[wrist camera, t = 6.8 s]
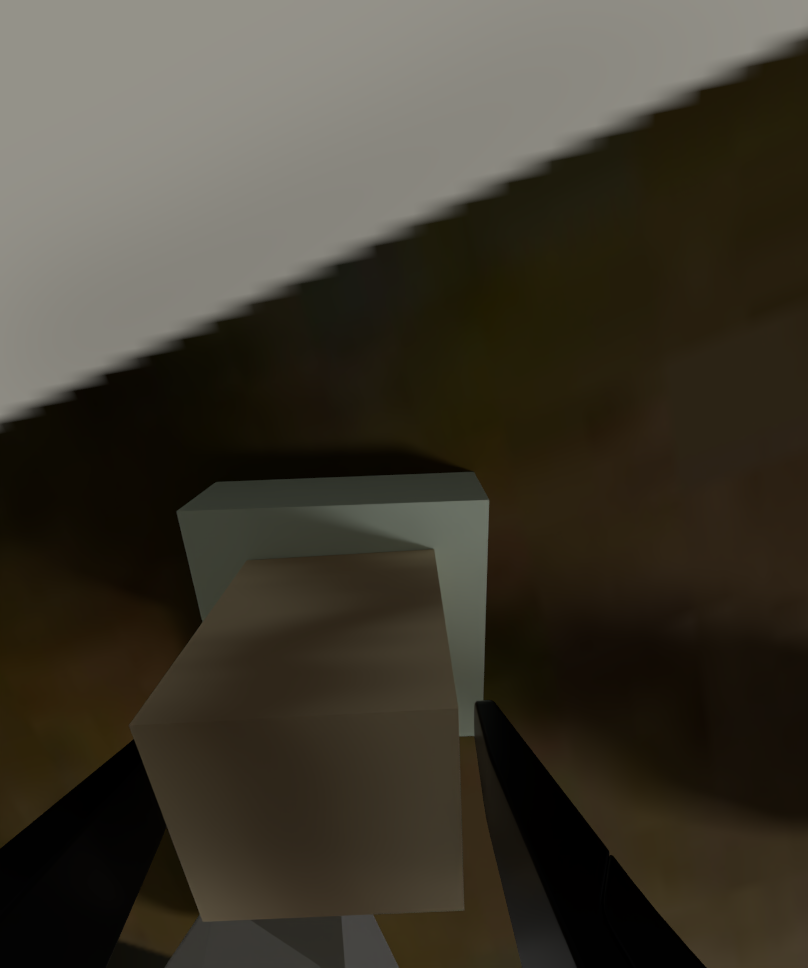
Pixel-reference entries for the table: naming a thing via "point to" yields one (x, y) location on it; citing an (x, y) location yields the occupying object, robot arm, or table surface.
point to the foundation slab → (355, 542)
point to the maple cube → (313, 743)
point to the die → (285, 944)
